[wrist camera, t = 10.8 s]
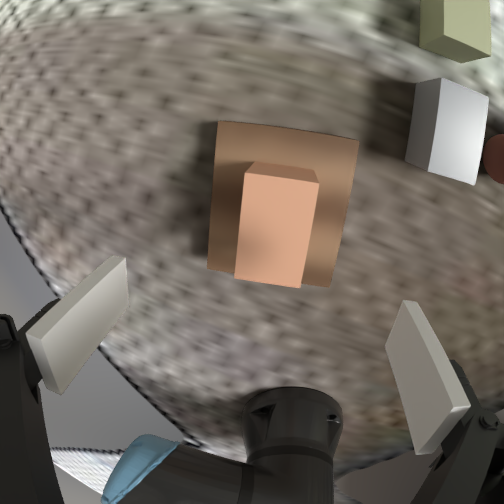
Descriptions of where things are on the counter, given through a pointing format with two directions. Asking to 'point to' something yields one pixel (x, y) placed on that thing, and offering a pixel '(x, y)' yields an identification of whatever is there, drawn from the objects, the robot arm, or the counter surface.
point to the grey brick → (447, 129)
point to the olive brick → (456, 28)
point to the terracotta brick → (275, 223)
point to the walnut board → (289, 154)
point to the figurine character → (494, 158)
